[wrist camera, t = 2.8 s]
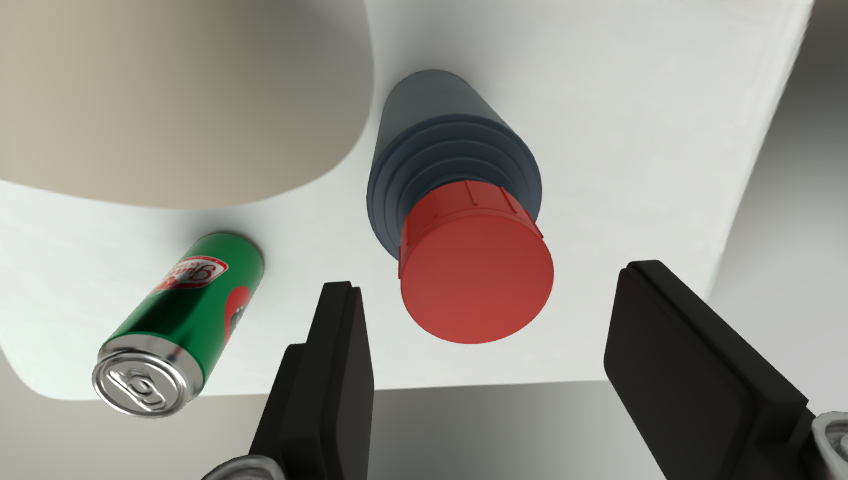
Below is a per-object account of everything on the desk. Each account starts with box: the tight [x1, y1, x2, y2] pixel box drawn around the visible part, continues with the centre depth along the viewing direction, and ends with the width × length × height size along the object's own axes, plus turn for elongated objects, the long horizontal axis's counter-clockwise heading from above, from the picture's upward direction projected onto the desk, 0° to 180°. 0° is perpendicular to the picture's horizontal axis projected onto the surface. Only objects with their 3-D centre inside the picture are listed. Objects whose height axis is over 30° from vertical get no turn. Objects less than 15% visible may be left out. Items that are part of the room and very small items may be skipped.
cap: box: [398, 180, 554, 344], centre depth 12 cm, size 4×4×2 cm
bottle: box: [366, 70, 542, 261], centre depth 19 cm, size 6×6×18 cm
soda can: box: [92, 233, 264, 419], centre depth 26 cm, size 5×5×12 cm
